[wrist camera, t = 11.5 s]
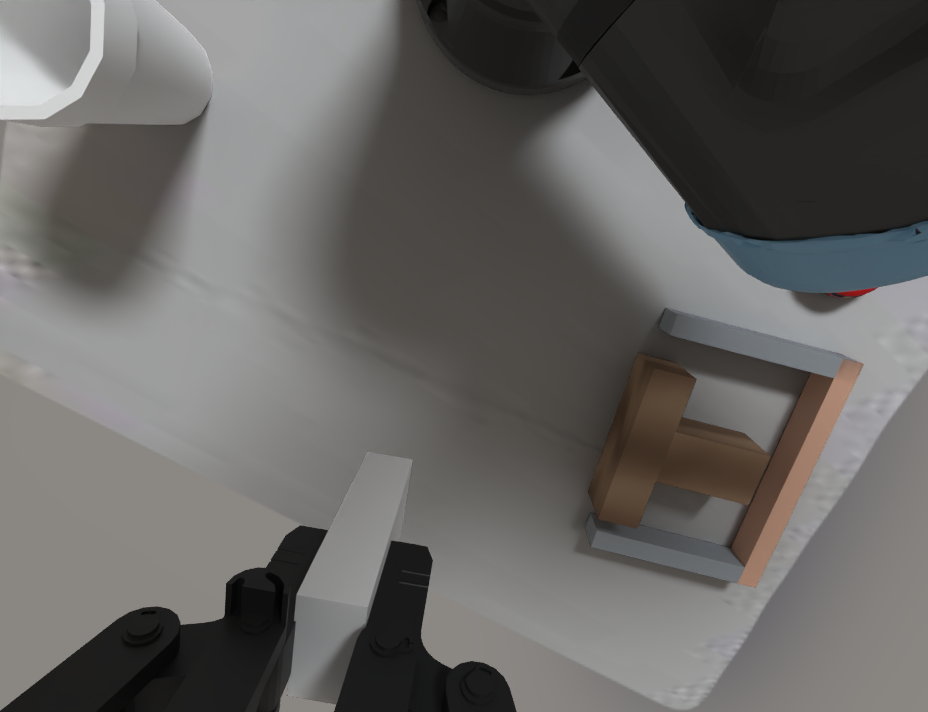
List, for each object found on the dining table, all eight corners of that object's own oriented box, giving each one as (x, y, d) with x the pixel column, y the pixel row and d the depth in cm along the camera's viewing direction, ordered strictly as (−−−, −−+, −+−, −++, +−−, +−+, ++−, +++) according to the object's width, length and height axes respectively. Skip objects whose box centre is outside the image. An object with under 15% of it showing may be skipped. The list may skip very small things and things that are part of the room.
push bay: (665, 307, 39) (677, 314, 37) (841, 354, 40) (864, 363, 37) (584, 528, 44) (590, 546, 42) (741, 567, 45) (755, 587, 42)
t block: (637, 352, 40) (654, 368, 36) (765, 386, 41) (794, 404, 37) (587, 491, 43) (598, 519, 40) (706, 521, 44) (727, 551, 40)
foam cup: (141, -39, 34) (-54, -178, 22) (262, 60, 36) (142, -18, 23) (74, 89, 37) (-139, 28, 24) (190, 178, 38) (45, 164, 25)
